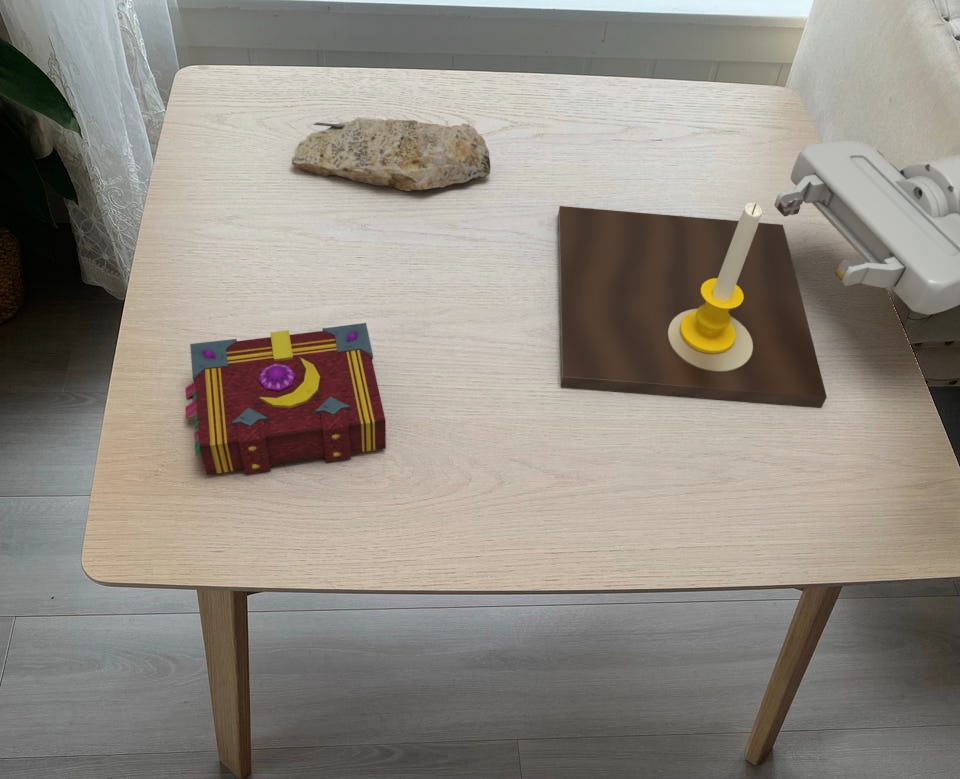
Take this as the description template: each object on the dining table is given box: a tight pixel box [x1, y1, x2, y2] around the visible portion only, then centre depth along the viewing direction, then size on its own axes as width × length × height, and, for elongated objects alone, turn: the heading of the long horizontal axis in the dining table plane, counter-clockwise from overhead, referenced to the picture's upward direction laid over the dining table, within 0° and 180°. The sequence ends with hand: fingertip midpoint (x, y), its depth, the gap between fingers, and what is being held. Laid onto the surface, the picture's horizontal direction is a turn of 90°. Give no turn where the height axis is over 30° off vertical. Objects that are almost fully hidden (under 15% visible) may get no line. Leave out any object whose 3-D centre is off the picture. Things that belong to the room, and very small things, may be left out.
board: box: [557, 205, 828, 408], centre depth 94 cm, size 24×24×2 cm
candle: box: [680, 202, 763, 354], centre depth 84 cm, size 5×5×16 cm
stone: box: [290, 117, 491, 192], centre depth 103 cm, size 21×6×10 cm
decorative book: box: [184, 322, 387, 476], centre depth 80 cm, size 11×16×5 cm
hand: (810, 238), depth 83 cm, fingers open, 8 cm apart
